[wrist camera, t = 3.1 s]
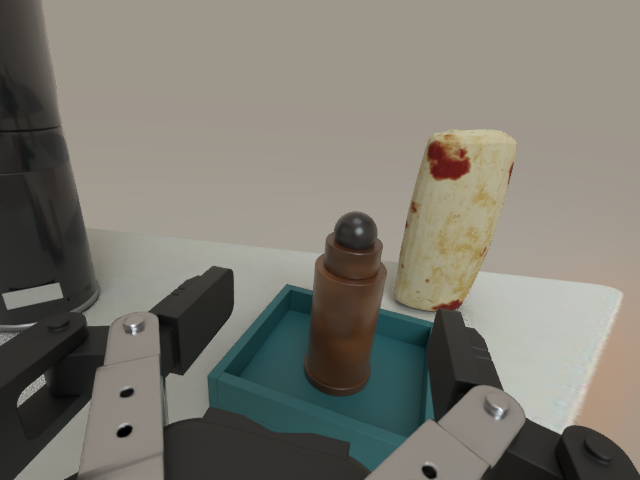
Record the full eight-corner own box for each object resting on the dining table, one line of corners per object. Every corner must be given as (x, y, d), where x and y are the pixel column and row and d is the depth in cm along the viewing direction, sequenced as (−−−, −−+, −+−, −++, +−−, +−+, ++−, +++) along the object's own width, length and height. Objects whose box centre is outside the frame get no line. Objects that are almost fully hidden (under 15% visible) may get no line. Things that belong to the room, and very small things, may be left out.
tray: (209, 407, 25) (207, 375, 24) (285, 308, 37) (286, 283, 36) (425, 492, 21) (436, 460, 20) (432, 349, 33) (439, 324, 31)
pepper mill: (293, 383, 27) (304, 217, 21) (316, 339, 32) (331, 195, 26) (361, 406, 25) (394, 235, 20) (375, 357, 30) (404, 208, 24)
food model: (401, 322, 36) (445, 128, 28) (381, 288, 42) (412, 120, 34) (482, 319, 38) (546, 135, 30) (452, 287, 44) (498, 126, 36)
